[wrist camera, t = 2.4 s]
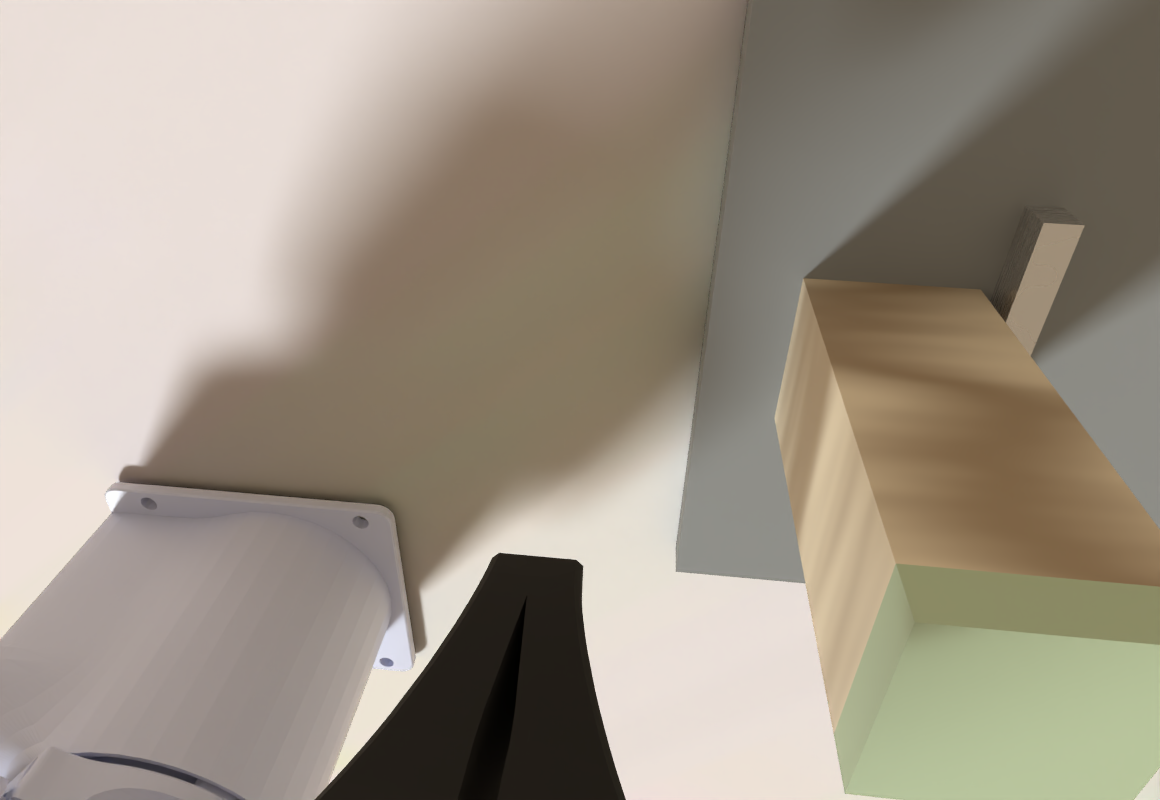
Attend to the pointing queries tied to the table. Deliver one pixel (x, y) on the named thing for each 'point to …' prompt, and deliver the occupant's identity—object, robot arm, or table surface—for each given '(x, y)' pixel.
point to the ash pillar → (964, 556)
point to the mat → (931, 221)
